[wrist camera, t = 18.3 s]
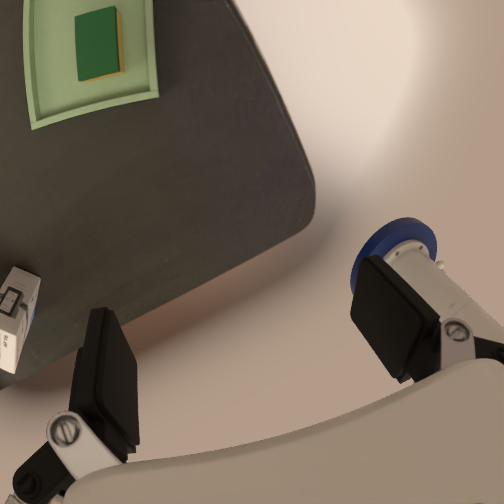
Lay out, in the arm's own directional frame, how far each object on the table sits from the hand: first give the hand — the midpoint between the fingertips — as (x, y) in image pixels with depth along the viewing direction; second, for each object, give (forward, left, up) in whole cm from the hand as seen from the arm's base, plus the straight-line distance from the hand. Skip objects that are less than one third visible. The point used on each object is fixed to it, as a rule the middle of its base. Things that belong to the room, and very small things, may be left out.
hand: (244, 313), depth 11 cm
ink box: (+28, +14, -26) cm, 41 cm away
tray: (+10, -17, -26) cm, 33 cm away
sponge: (+8, -14, -26) cm, 30 cm away
